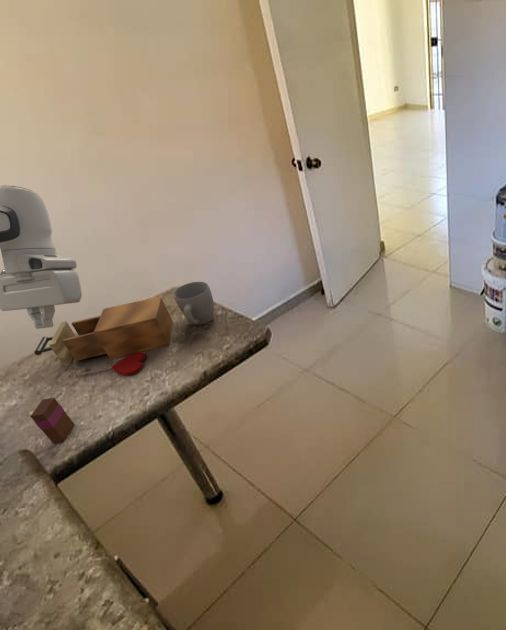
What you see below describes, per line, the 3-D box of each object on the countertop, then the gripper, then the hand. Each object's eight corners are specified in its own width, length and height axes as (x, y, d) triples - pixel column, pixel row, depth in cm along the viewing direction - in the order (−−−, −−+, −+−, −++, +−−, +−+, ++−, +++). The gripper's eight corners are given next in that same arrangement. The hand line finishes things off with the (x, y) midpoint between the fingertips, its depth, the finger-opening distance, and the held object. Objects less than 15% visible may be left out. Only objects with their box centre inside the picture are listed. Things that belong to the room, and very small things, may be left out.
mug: (191, 312, 124) (178, 283, 118) (223, 308, 125) (211, 279, 119) (178, 338, 114) (164, 307, 108) (213, 333, 115) (200, 302, 109)
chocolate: (52, 443, 87) (29, 416, 82) (63, 426, 90) (42, 399, 86) (64, 441, 87) (42, 414, 82) (75, 424, 91) (54, 397, 86)
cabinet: (110, 359, 108) (93, 332, 103) (118, 335, 117) (103, 308, 112) (169, 345, 112) (155, 318, 107) (173, 322, 120) (160, 296, 115)
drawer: (41, 372, 104) (25, 350, 100) (54, 348, 112) (39, 327, 108) (121, 352, 109) (108, 331, 105) (127, 331, 116) (116, 310, 113)
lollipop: (70, 388, 100) (140, 373, 103) (68, 385, 99) (139, 370, 102) (82, 366, 106) (148, 352, 109) (80, 363, 106) (147, 349, 109)
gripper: (-20, 270, 93) (-6, 333, 94) (50, 259, 88) (63, 326, 89) (14, 269, 99) (26, 329, 100) (81, 259, 94) (93, 322, 95)
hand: (44, 327), depth 95 cm, fingers closed
